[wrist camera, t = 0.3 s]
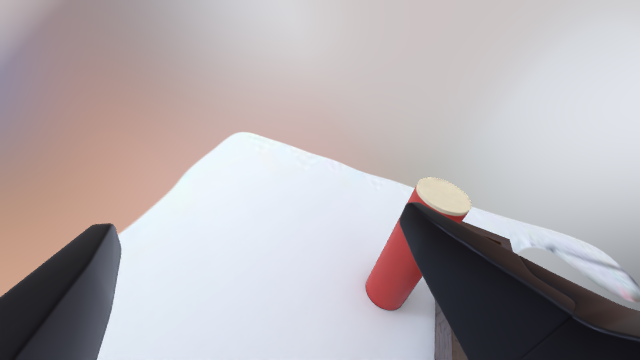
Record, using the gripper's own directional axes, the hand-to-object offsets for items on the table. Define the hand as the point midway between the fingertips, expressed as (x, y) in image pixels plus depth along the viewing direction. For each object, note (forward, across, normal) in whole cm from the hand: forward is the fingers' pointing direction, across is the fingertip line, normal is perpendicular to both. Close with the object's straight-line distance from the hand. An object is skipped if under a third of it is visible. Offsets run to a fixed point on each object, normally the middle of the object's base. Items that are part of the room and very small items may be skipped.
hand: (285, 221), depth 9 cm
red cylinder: (+6, -13, +16) cm, 22 cm away
